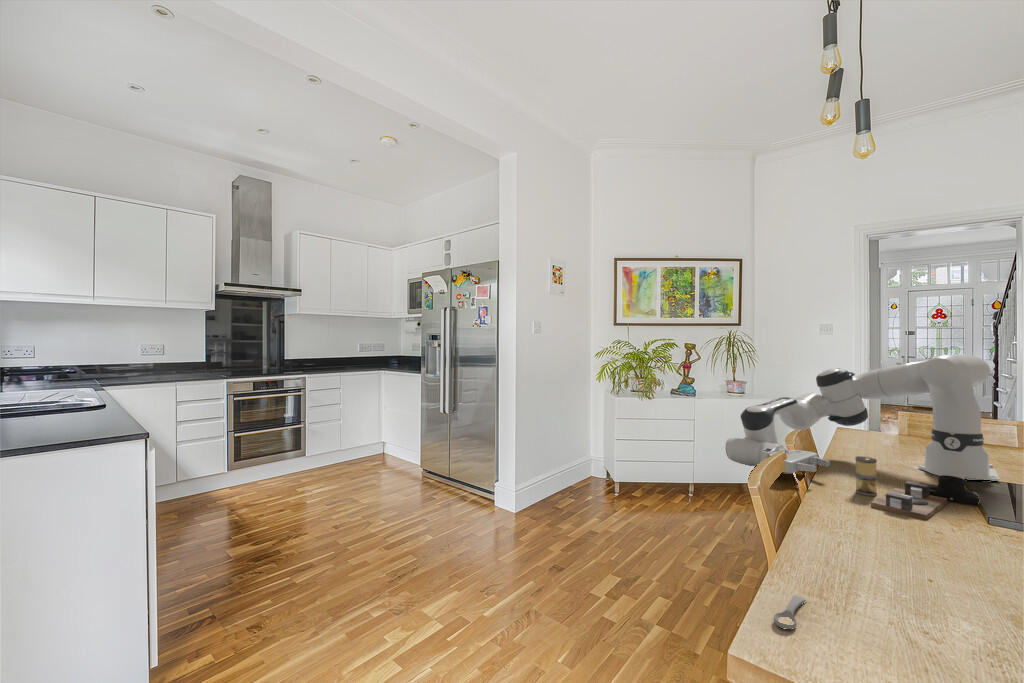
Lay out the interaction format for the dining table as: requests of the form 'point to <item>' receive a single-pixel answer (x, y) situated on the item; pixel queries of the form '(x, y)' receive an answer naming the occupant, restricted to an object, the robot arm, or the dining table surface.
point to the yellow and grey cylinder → (866, 476)
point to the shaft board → (916, 508)
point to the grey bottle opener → (789, 612)
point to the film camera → (954, 491)
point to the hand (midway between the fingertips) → (822, 466)
